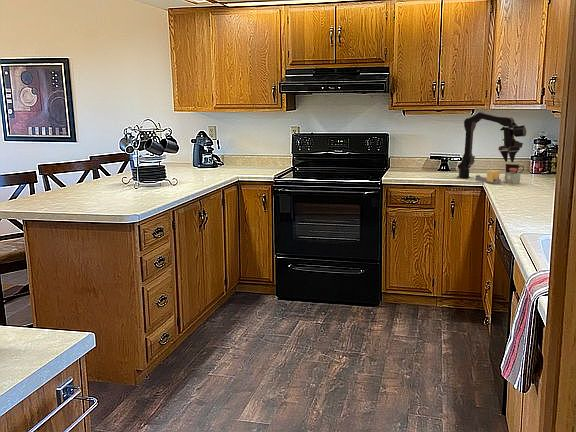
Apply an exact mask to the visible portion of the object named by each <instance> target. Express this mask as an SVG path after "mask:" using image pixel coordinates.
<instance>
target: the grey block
mask: <svg viewBox="0 0 576 432" xmlns="http://www.w3.org/2000/svg"><path fill="white" fill-rule="evenodd" d="M504 183H508V184H520V183H521V173H519V172H517V173H515V174H511V172H509V173H506V172H505V173H504Z"/></svg>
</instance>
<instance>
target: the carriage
mask: <svg viewBox="0 0 576 432" xmlns="http://www.w3.org/2000/svg"><path fill="white" fill-rule="evenodd" d="M500 172H501V171H499V170H494V169H493V170H492V169H491V170H487V172H486V178H487V181H490V182H493V180H495V179H500Z"/></svg>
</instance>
